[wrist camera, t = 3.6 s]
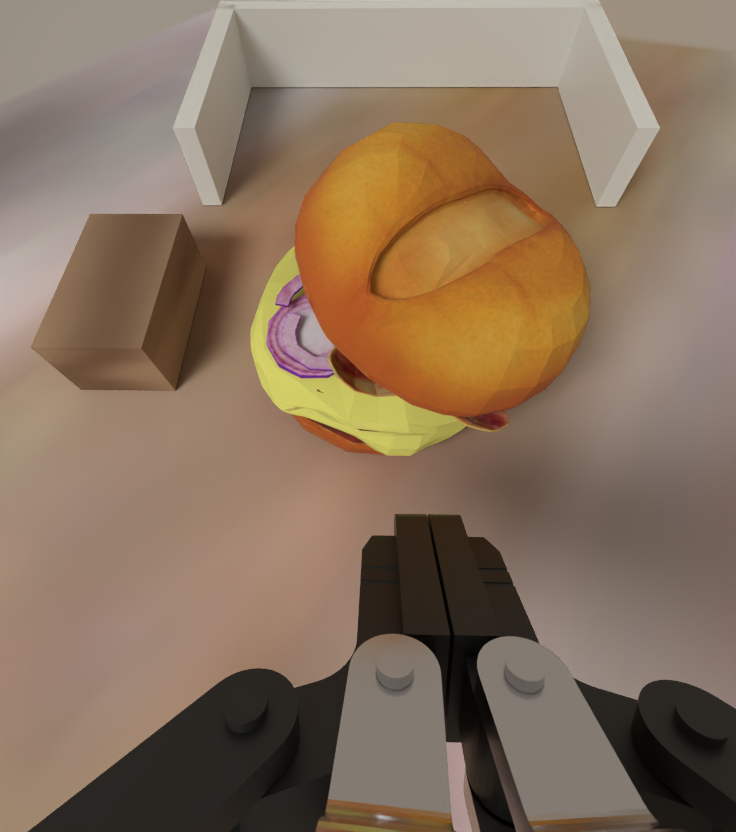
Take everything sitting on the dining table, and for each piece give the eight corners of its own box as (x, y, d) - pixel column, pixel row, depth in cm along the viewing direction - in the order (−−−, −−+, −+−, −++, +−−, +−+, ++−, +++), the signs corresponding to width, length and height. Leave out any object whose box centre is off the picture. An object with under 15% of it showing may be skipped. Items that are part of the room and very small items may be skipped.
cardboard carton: (81, 389, 18) (30, 347, 16) (125, 266, 21) (90, 213, 19) (175, 390, 18) (140, 348, 15) (206, 266, 21) (182, 214, 19)
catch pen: (203, 205, 23) (172, 127, 20) (238, 79, 29) (219, 0, 25) (615, 206, 23) (660, 127, 19) (570, 78, 29) (598, -1, 25)
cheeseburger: (296, 253, 21) (324, 4, 13) (492, 326, 23) (645, 144, 14) (213, 432, 17) (167, 239, 8) (464, 513, 18) (665, 421, 9)
